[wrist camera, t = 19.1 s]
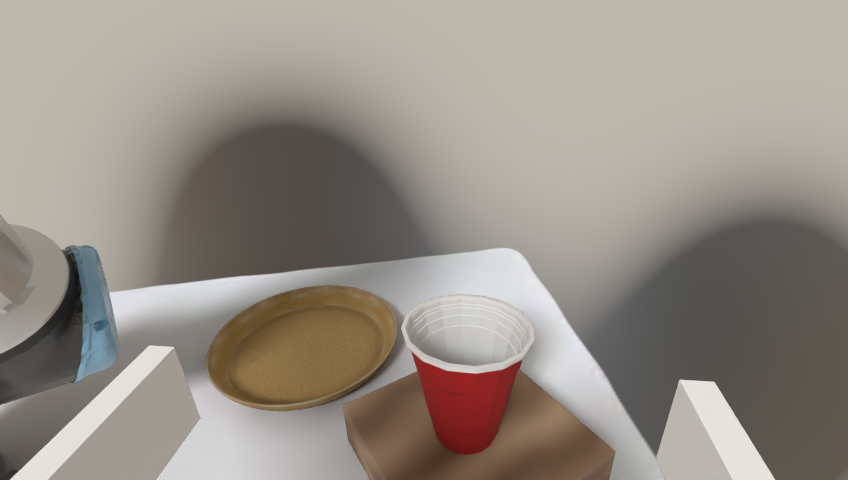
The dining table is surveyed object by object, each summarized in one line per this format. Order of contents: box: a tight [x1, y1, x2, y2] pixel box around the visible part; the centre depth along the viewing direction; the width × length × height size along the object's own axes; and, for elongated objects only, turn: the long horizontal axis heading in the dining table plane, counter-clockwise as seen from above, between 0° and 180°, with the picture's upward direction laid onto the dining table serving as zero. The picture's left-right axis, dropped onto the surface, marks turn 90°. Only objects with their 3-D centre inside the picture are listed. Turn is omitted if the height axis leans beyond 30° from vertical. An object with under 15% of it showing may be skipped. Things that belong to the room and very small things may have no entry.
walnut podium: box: [343, 370, 615, 480], centre depth 42 cm, size 18×18×5 cm
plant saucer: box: [206, 285, 397, 411], centre depth 58 cm, size 24×24×3 cm
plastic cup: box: [401, 294, 535, 455], centre depth 39 cm, size 11×11×12 cm
